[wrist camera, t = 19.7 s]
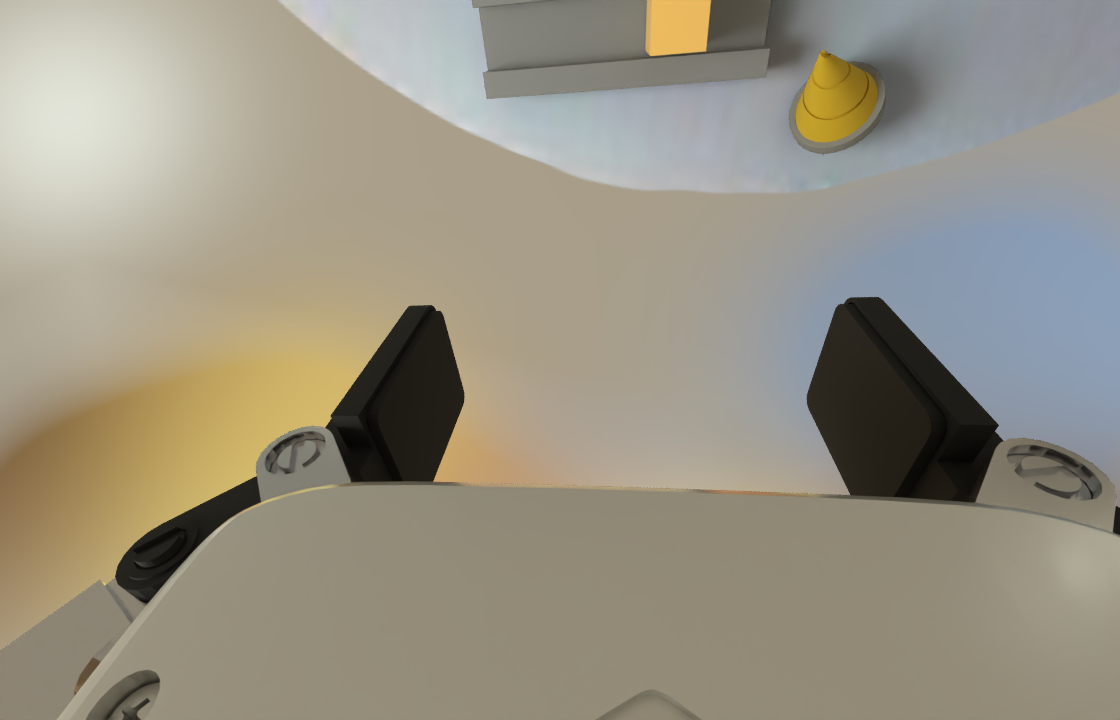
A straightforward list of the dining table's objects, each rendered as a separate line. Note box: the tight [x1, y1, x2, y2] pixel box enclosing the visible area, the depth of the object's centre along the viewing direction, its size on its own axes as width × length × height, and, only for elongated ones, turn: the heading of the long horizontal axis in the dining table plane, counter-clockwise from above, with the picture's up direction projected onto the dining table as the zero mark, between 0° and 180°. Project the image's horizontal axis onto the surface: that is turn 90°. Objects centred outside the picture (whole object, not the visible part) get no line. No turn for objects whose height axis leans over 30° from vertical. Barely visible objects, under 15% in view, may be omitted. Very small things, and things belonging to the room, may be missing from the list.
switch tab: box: [645, 0, 711, 56], centre depth 26 cm, size 3×3×5 cm
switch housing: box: [472, 0, 771, 99], centre depth 29 cm, size 18×6×3 cm, turn 94°
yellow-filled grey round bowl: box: [789, 50, 885, 154], centre depth 28 cm, size 5×5×10 cm
